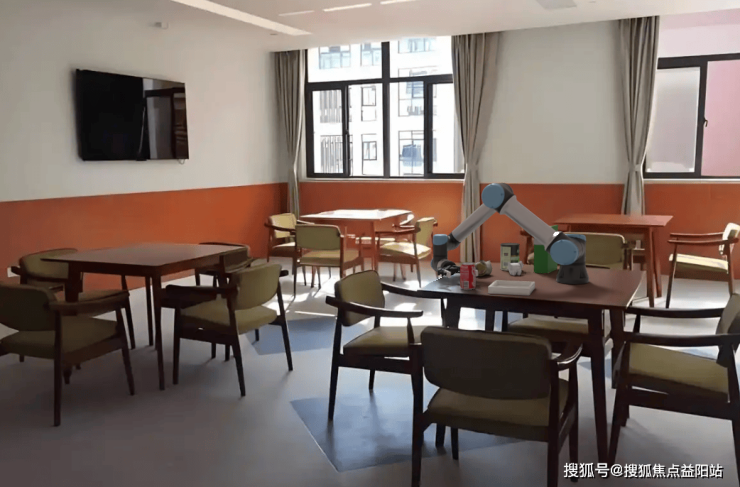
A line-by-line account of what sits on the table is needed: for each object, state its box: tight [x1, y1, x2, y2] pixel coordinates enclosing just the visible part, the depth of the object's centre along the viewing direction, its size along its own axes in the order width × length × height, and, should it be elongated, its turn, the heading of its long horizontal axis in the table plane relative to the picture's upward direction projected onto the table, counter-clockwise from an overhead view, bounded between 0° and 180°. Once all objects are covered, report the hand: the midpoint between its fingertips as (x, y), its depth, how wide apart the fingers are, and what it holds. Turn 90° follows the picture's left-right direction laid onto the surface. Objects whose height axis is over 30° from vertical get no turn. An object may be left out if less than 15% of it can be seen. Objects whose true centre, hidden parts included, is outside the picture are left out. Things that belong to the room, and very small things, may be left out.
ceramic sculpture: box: [474, 259, 493, 277], centre depth 341 cm, size 11×9×15 cm
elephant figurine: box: [507, 260, 524, 276], centre depth 342 cm, size 8×10×7 cm
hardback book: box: [533, 224, 559, 274], centre depth 351 cm, size 18×7×24 cm, turn 148°
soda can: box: [459, 261, 477, 291], centre depth 304 cm, size 7×7×12 cm
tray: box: [487, 279, 536, 296], centre depth 299 cm, size 18×18×3 cm
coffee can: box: [499, 242, 521, 272], centre depth 358 cm, size 10×10×14 cm
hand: (463, 274), depth 308 cm, fingers open, 13 cm apart
